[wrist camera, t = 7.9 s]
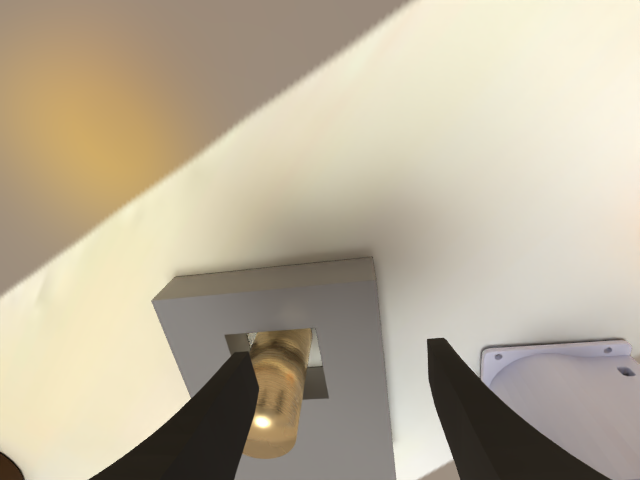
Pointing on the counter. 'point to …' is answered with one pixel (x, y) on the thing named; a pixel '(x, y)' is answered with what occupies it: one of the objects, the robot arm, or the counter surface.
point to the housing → (321, 382)
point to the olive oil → (8, 470)
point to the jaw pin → (278, 390)
